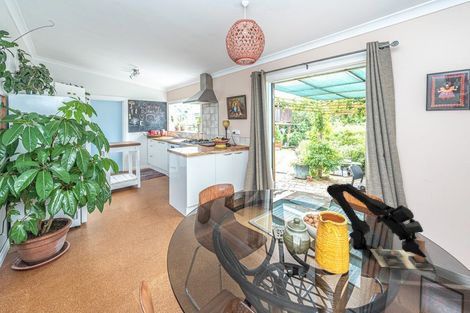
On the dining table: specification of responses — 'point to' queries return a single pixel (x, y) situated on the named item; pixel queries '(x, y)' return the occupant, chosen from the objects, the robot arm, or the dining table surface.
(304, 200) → the dining table surface
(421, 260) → the terracotta pin
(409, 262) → the pin board
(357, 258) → the dining table surface
